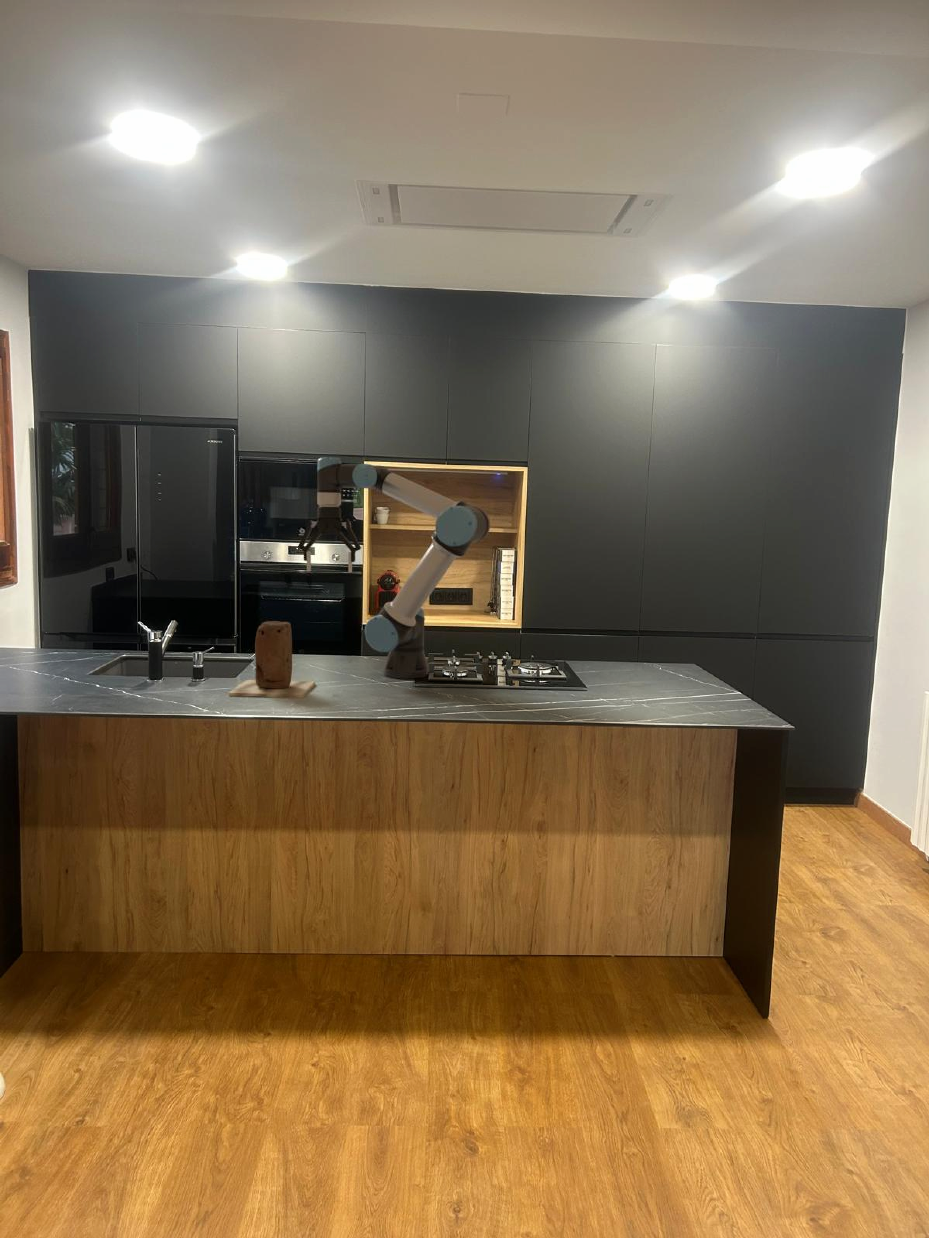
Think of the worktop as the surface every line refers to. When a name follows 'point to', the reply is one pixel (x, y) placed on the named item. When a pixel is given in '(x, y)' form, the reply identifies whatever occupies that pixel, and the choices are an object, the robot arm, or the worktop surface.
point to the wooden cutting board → (273, 690)
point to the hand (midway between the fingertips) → (329, 571)
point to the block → (273, 655)
